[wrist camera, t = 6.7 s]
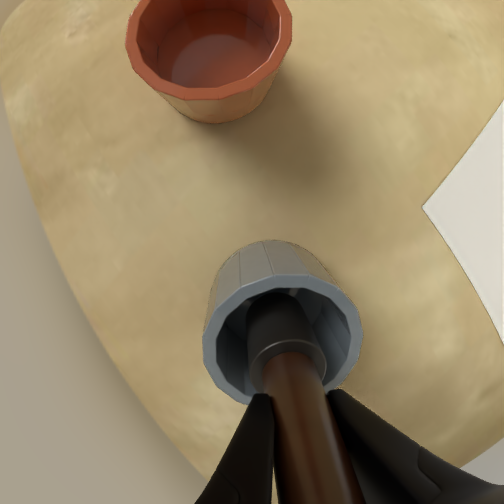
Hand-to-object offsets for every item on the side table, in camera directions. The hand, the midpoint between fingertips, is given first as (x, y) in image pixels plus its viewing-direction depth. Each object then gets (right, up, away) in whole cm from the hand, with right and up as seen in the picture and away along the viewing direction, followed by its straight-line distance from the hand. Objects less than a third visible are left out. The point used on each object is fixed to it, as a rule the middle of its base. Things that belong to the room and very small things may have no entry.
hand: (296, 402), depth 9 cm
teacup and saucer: (+22, +7, +7) cm, 24 cm away
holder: (-3, +13, +5) cm, 14 cm away
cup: (0, +2, +8) cm, 8 cm away
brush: (0, +1, +5) cm, 6 cm away
